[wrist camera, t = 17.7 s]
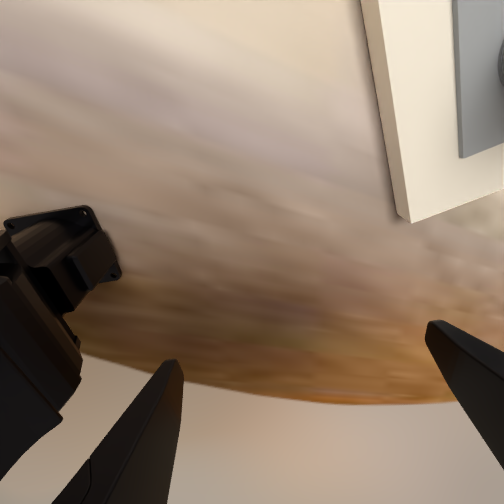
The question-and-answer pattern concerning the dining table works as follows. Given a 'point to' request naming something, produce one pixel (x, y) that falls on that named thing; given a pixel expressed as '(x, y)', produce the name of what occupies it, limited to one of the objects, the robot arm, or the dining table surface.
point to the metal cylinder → (501, 64)
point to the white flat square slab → (438, 99)
